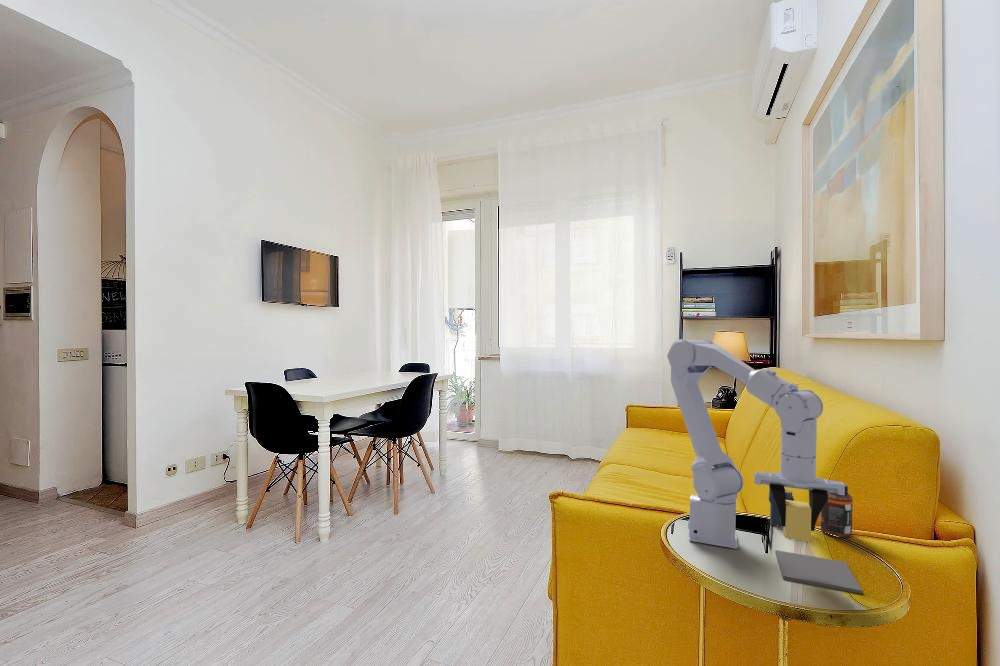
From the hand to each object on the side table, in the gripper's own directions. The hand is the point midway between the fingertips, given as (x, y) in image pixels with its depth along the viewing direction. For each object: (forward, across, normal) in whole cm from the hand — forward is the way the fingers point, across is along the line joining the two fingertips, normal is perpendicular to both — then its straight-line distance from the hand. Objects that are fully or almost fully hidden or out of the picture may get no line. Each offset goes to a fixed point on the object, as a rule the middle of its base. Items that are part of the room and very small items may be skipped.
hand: (796, 526), depth 94 cm
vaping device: (+9, 0, +26) cm, 27 cm away
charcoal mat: (+8, +3, +2) cm, 9 cm away
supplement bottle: (+9, +11, +26) cm, 29 cm away
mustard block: (+2, 0, 0) cm, 2 cm away
